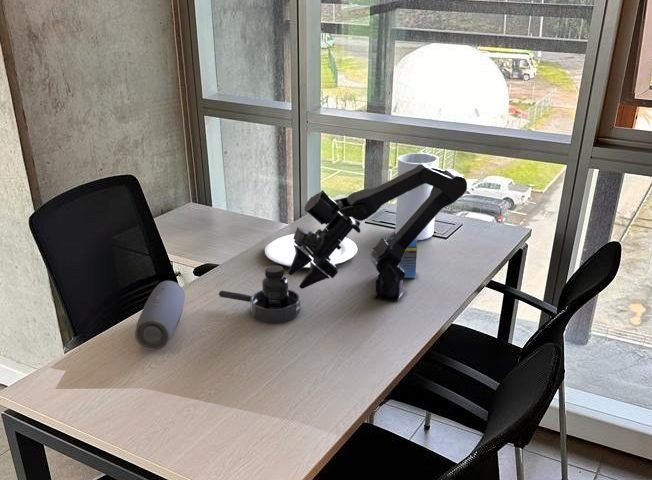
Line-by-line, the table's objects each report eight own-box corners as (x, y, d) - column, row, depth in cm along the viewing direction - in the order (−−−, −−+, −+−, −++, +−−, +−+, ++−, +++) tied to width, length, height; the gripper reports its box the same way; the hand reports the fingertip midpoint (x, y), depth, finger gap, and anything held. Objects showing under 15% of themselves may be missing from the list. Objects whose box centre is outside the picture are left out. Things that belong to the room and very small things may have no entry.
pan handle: (256, 300, 194) (256, 294, 193) (253, 303, 193) (253, 297, 192) (221, 295, 198) (220, 289, 197) (217, 297, 196) (217, 291, 195)
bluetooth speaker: (155, 312, 194) (149, 278, 189) (189, 312, 194) (185, 278, 189) (135, 355, 175) (129, 318, 170) (173, 354, 175) (168, 317, 169)
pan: (307, 306, 195) (307, 291, 193) (288, 327, 185) (287, 312, 183) (264, 299, 200) (263, 285, 197) (243, 319, 190) (242, 305, 187)
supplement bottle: (294, 309, 192) (292, 267, 186) (278, 318, 188) (275, 276, 182) (275, 302, 196) (272, 261, 190) (258, 311, 192) (255, 270, 185)
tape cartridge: (415, 273, 212) (417, 233, 205) (415, 278, 209) (418, 238, 202) (384, 272, 213) (386, 233, 206) (384, 278, 209) (386, 238, 203)
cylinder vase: (391, 228, 244) (394, 154, 230) (427, 226, 245) (432, 152, 231) (399, 242, 233) (403, 164, 220) (437, 239, 234) (443, 162, 221)
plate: (373, 247, 230) (373, 241, 229) (327, 280, 209) (326, 274, 208) (297, 231, 244) (297, 226, 243) (246, 261, 223) (245, 255, 222)
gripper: (299, 206, 190) (262, 251, 193) (325, 228, 175) (284, 278, 178) (328, 230, 196) (291, 274, 199) (354, 254, 181) (314, 301, 184)
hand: (294, 281), depth 190 cm, fingers open, 9 cm apart
